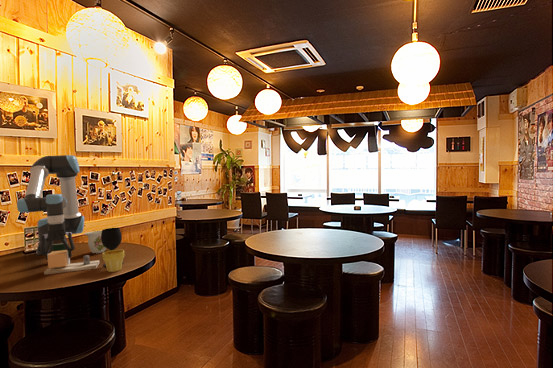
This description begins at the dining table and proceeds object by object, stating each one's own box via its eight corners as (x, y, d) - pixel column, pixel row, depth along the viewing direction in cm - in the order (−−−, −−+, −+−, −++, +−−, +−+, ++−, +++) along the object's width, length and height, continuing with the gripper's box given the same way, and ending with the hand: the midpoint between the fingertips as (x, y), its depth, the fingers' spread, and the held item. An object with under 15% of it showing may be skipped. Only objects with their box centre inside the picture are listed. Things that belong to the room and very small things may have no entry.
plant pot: (119, 265, 185) (118, 248, 185) (129, 269, 179) (127, 250, 178) (100, 270, 178) (98, 252, 177) (109, 274, 171) (107, 255, 170)
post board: (51, 268, 186) (50, 257, 185) (99, 262, 194) (99, 252, 193) (44, 274, 174) (43, 263, 174) (96, 268, 182) (95, 257, 182)
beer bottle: (61, 262, 197) (58, 222, 195) (50, 262, 198) (46, 222, 197) (71, 259, 204) (69, 219, 203) (61, 258, 206) (58, 219, 204)
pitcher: (117, 250, 223) (116, 229, 222) (88, 256, 209) (86, 234, 209) (111, 247, 230) (109, 227, 229) (82, 253, 217) (80, 232, 216)
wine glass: (127, 262, 192) (125, 227, 191) (113, 267, 182) (110, 231, 181) (113, 261, 195) (111, 227, 194) (98, 266, 186) (96, 230, 184)
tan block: (53, 264, 184) (52, 251, 184) (69, 262, 187) (68, 249, 187) (48, 268, 177) (47, 255, 176) (66, 266, 180) (65, 253, 179)
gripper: (30, 225, 174) (34, 269, 175) (76, 222, 180) (79, 263, 182) (35, 223, 181) (38, 265, 182) (79, 220, 187) (82, 260, 189)
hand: (59, 264), depth 182 cm, fingers closed on tan block, 8 cm apart
